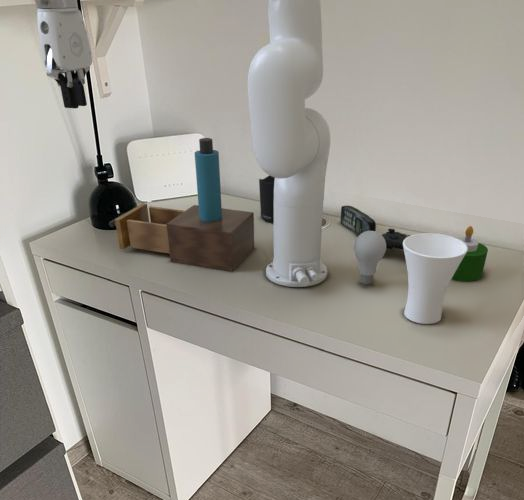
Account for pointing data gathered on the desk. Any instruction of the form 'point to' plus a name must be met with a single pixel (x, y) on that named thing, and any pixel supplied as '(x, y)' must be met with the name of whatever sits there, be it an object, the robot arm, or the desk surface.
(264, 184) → the pen holder
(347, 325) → the desk surface
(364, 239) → the lightbulb
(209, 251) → the cabinet
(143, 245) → the drawer
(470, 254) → the candle
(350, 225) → the mobile phone
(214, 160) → the teal bottle
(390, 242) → the gaming controller
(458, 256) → the cup
